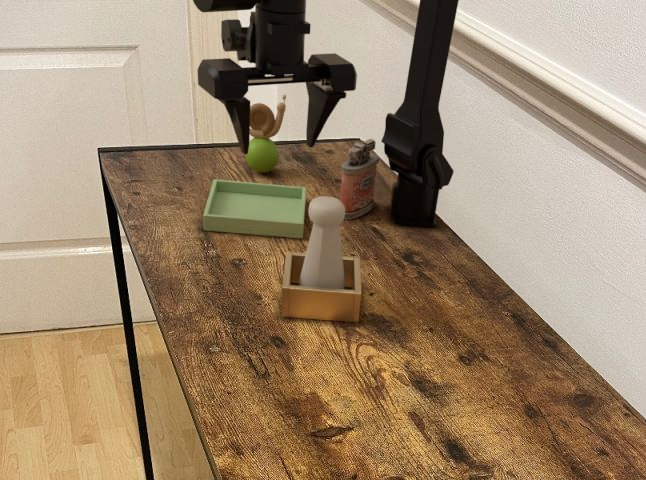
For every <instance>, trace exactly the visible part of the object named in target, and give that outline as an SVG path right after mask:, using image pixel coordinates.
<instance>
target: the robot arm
mask: <svg viewBox="0 0 646 480" xmlns="http://www.w3.org/2000/svg"><path fill="white" fill-rule="evenodd" d="M459 1H460V0H419V6H418V12H417V17H416V22H415V23H416V24H415V29H414V30H415V31H414V36H413V43H412V48H411V54H410V61H409V67H408V73H407V78H406V79H407V80H406V86H405V92H404V97H403V101H402V103H401V105H400V106H399V107H398V108H397V110H396V111H395V113H391V112H388V113H387V114H386V116H385V125H384V126H385V127H384V132H383V136H382V138H381V143H382V144H383V146H384V147H383V151H384V155H386V157H387V160H388V165H389V170H390V171H392V172H395V173H397V177H396V181H393V182H392V186H391V187H392V189H391V197H390V203H389V204H390V205H389V210H390V211H389V212H390V215H391V216H392V219H393V223H394V224H395V225H404V226H414V227H415V226H416V227H426V228H427V227H428V228H430V227H431V228H436V225H437V221H436V213H437V207H438V202H439V201H438V200H439V194H440V191H441V190H443V188H444V187H447V186H449V185H450V182H451V180H452V177H453V176H454V172H455V171H454V169H453V167H452V166H451V164H450V163H449V161H448V159H447V158H446V157H445V155H444V154H443V152H444V140H445V138H444V137H445V130H444V126H443V122H442V118H441V114H440V113H441V112H440V110H439V109H440V108H439V107H440V101H441V97H442V91H443V85H444V79H445V75H446V70H447V69H446V68H447V65H448V64H447V63H448V58H449V53H450V48H451V43H452V37H453V32H454V27H455V22H456V17H457V11H458V6H459ZM192 2H193V4H194V5H195V7H196V8H197V9H198V11H199V12H201V13H218V12H234V11H235V12H236V11H250V10H252V9H255V10H254V11H250V15H249V26H242V22H241V20H240V19H224V20H221V23H220V24H221V25H220V27H221V29H220V30H221V31H220V32H221V33H220V37H221V44H222V49H223V51H224V52H227V53H228V52H236V57H237V61H239V62H240V61H243V62H244V61H246V62H248V63H249V64H254V65H255V66H249V67H242V66H241V65H240V64H238V63H237V62H236V61H234V60H233V59H231V58H230V57H227V58H206V59H202V60H201V62H200V63H199V65H198V67H197V85H198V86H199V87H200V88H202V89H203V90H204V91H205V92H206V93H207V94H208V95H210V96H211V97H212V98H214V100H218V101H219V102H220V103H221V104H223V105H224V107H225V110H226V111H227V114H228V116H229V118H230V121H231V124H232V127H233V131H234V134H235V135H236V139H237V142H238V145H239V148H240V151H241V153H242V154H244V155H245V154H248V149H249V141H250V136H251V135H250V129H251V127H250V106H251V100H249V99H248V98H247V97H246V94H247V93H248V92H249V87H254V86H269V85H287V84H301V83H305V86H306V87H305V88H306V92H307V97H308V102H307V103H308V104H307V106H308V107H307V118H306V131H305V132H306V146H307V147H308V148H313V147H314V146H315V145H316V142H317V140H318V139H319V137H320V134H321V133H322V131H323V129H324V127H325V125H326V123H327V121H328V119H329V118H330V116H331V114H332V113H333V111H334V110H335V108H336V107H337V105H338V103H340V101H341V100H342V99H346V98H347V92H352V91H355V90H356V89H357V79H358V73H357V70H356V67H355V65H354V64H353V63H352V62H350V61H349V60H348V59H346V58H344V57H343V56H340V55H339V54H337V53H336V52H334V53H333V52H332V53H313V54H311V55H310V57H309V58H308V60H307V61H305V39H306V37H305V36H306V35H311V25H312V24H311V23H310V22H309V21H306V14H307V13H306V12H307V0H192Z"/></svg>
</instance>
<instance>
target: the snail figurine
mask: <svg viewBox="0 0 646 480" xmlns="http://www.w3.org/2000/svg"><path fill="white" fill-rule="evenodd" d="M286 99H287V95H286V94H282V100H283V102H279V103H277V104H276V115H275V114H274V112H273V110H272V109H271V108H270V107H269V106H268V105H266V104H265V103H262V102H257V103H253V104H252V105H250V136H252V138H251V139H249V149H248V154H244V157H245V160H246V161H245V162H246V163H247V165H248V166H249V167H250V168H251V169H252V170H253V171H255V172H257V173H263V174H264V173H265V174H266V173H269V172H271V171H272V170H274V168H275V167H276V166H277V164H278V162H279V149H278V146H277V144H276V143H275V141H273V140H272V139H271V138H272V137H275V136H276V135H277V134H278V133H279V131H280V129H281V127H282V124H283V120H284V116H285V112H286V108H287V106H286Z"/></svg>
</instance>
